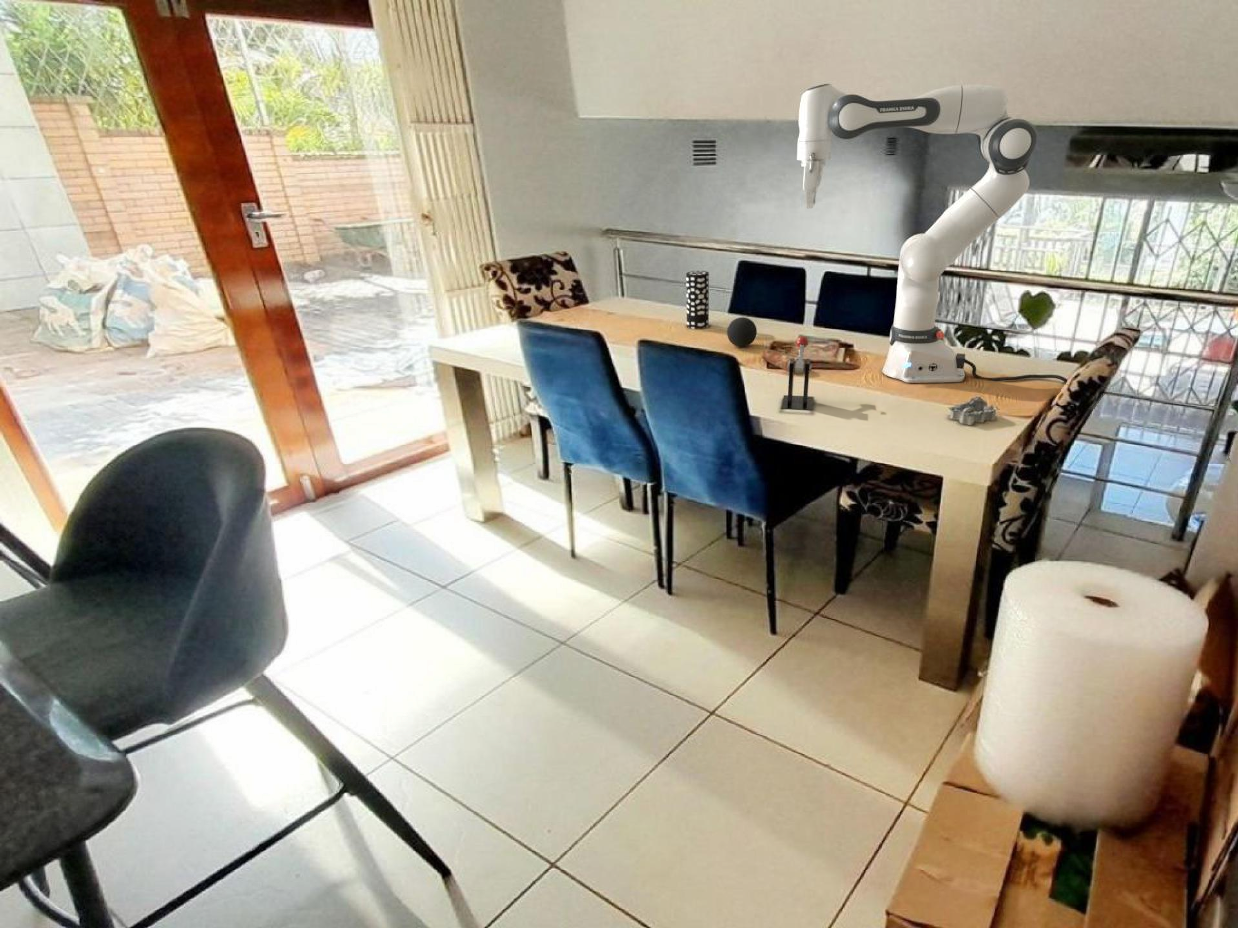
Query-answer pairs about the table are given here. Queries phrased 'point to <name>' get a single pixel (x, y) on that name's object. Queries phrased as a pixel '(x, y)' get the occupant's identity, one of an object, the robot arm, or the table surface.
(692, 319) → the white-spotted black cylinder
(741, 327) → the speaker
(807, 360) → the bracket
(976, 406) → the grey lumpy block
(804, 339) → the lever
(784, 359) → the bread
